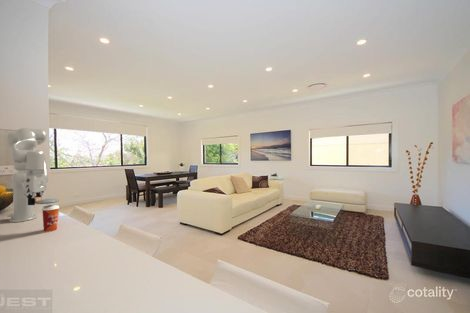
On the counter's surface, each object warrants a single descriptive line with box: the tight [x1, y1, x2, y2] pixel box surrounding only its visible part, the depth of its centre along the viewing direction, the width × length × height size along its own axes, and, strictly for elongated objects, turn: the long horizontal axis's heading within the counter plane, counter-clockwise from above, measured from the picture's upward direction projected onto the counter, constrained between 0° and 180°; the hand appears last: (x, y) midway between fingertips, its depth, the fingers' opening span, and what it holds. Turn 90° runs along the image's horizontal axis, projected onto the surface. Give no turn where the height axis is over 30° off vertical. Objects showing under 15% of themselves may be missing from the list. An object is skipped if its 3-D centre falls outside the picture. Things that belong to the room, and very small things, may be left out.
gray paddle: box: [34, 196, 59, 205], centre depth 119 cm, size 14×10×2 cm
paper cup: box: [41, 204, 60, 233], centre depth 120 cm, size 8×8×14 cm
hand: (34, 203), depth 119 cm, fingers closed on gray paddle, 3 cm apart
